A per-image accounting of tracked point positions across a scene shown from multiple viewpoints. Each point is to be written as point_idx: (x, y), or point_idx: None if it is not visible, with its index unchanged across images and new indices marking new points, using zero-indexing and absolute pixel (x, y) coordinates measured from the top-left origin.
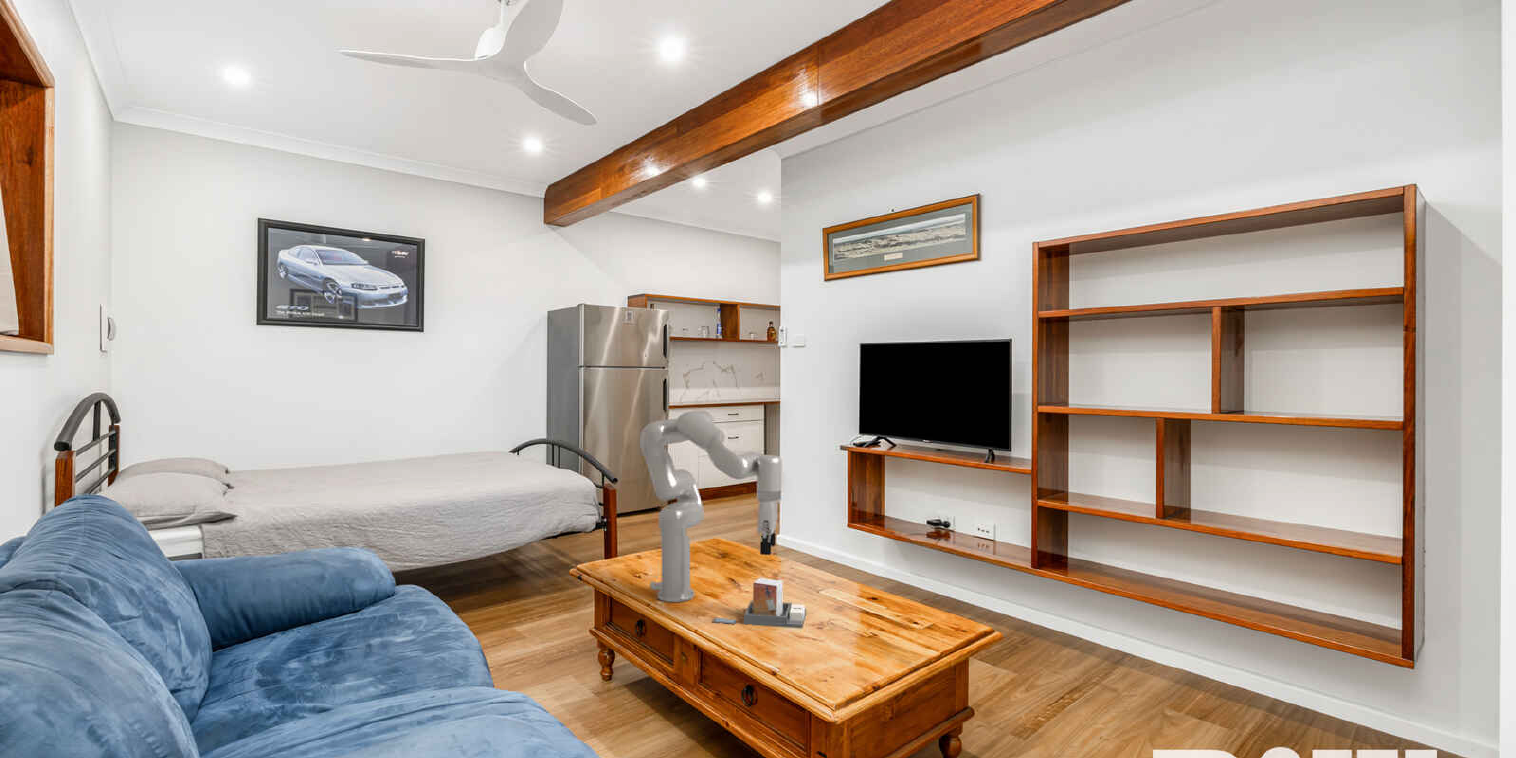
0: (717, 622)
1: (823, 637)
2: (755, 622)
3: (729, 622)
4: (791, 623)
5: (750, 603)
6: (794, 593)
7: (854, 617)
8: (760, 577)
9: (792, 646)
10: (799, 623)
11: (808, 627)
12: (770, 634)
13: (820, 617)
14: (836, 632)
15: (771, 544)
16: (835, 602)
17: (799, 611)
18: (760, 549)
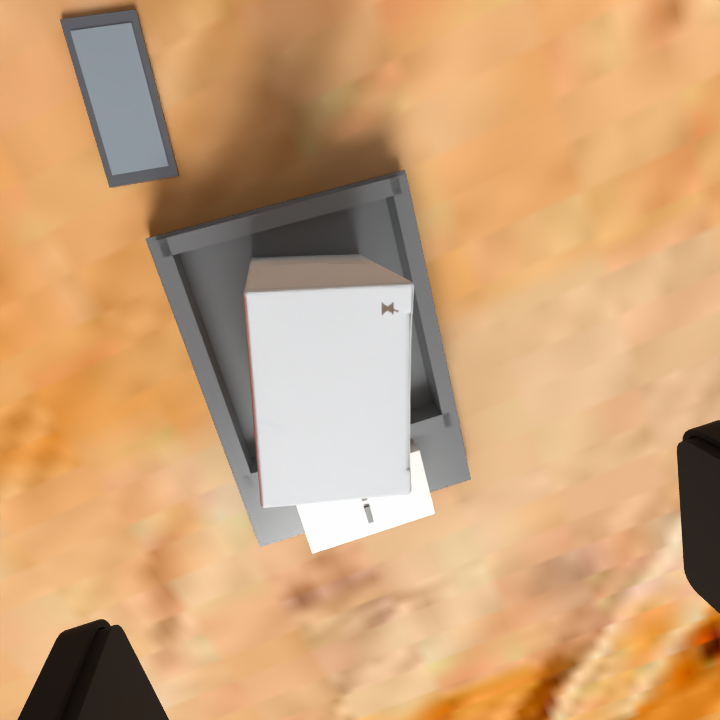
0: (74, 62)
1: (205, 651)
2: (173, 312)
3: (105, 149)
4: (250, 495)
5: (354, 193)
6: (700, 311)
7: (480, 664)
8: (410, 289)
9: (25, 587)
10: (269, 528)
11: (283, 554)
12: (100, 437)
13: (425, 551)
14: (286, 671)
15: (697, 551)
16: (628, 534)
17: (328, 528)
18: (23, 717)
